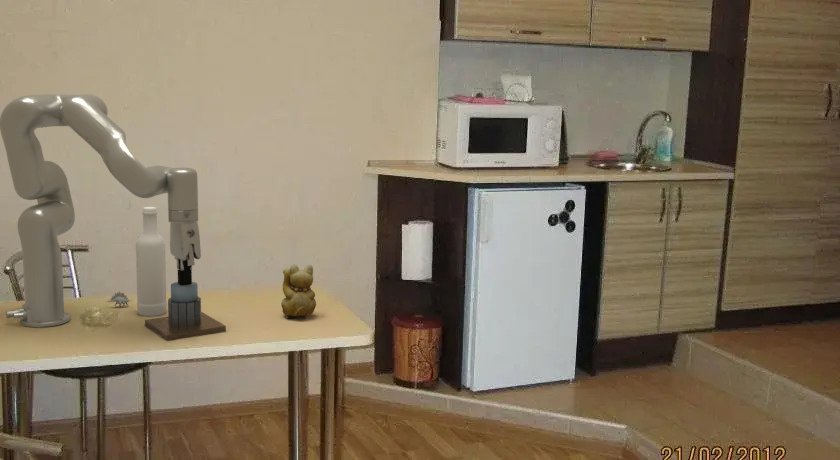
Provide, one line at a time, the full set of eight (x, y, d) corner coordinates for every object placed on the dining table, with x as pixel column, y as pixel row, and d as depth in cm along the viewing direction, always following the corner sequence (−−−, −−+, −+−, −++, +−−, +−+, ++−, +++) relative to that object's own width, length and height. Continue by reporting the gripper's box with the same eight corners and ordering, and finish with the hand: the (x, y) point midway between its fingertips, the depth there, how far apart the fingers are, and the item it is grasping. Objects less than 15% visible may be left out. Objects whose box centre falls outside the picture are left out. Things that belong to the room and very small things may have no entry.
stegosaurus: (105, 307, 249) (105, 291, 248) (131, 305, 252) (130, 289, 251) (106, 309, 247) (106, 293, 246) (132, 307, 250) (131, 291, 249)
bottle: (158, 317, 240) (155, 210, 235) (132, 315, 242) (129, 208, 237) (171, 310, 248) (169, 206, 243) (146, 307, 250) (143, 204, 244)
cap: (177, 318, 226) (176, 288, 225) (167, 312, 231) (166, 283, 230) (202, 315, 230) (201, 285, 229) (191, 309, 235) (191, 280, 234)
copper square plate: (166, 340, 220) (166, 310, 219) (144, 325, 233) (144, 296, 231) (225, 331, 230) (225, 302, 228) (201, 316, 242) (201, 289, 241)
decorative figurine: (314, 312, 250) (314, 261, 247) (317, 320, 242) (318, 268, 240) (280, 314, 248) (280, 262, 245) (283, 322, 240) (283, 269, 237)
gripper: (208, 218, 222) (209, 288, 226) (186, 210, 234) (187, 277, 237) (180, 221, 218) (182, 292, 221) (158, 212, 230) (160, 280, 233)
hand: (184, 284), depth 229 cm, fingers closed
